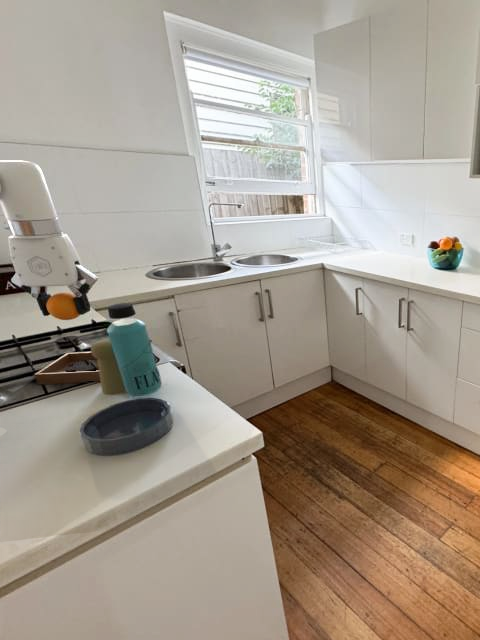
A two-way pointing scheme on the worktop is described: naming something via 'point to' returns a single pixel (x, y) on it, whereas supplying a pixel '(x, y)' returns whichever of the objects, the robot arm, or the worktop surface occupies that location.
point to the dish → (127, 426)
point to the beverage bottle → (133, 351)
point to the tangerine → (62, 306)
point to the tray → (58, 374)
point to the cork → (108, 367)
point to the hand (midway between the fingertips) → (67, 312)
